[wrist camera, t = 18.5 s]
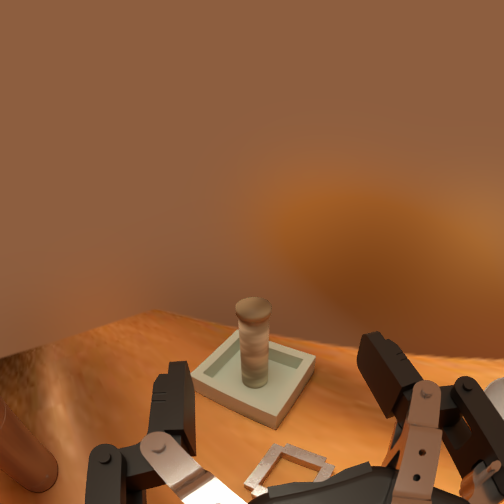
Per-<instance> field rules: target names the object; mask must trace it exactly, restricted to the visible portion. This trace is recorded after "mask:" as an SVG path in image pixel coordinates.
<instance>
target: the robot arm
mask: <svg viewBox="0 0 504 504" xmlns="http://www.w3.org/2000/svg"><path fill="white" fill-rule="evenodd" d="M357 366H358V369H359V371H360V372H361V374H362V376H363V378H364V379H365V381H366V383H367V385H368V386H369V388H370V390H371V392H372V393H373V395H374V397H375V399H376V401H377V402H378V404H379V406H380V408H381V410H382V411H383V413H384V415H385V417H386V419H388V418H390V417H393V416H395V417H396V419H397V420H396V422H395V426H394V430H393V434H392V437H391V441H390V445H389V448H388V452H387V455H386V457H385V459H384V461H383V463H382V466H370V463H369V461H368V462H365V463H362V464H360V465H357V466H353V467H350V468H347V469H345V470H343V471H341V472H339V473H338V474H336V475H334V476H332V477H330V478H328V479H327V480H325V481H322V482H293V483H288V484H282V485H277V486H271V487H267V489H268V492H267V493H264V494H262V495H260V496H258V497H256V498H254V499H253V500H251V501H250V502H249V503H248V504H500V503H502V502H503V501H504V420H503V418H502V417H501V415H500V414H499V412H498V411H497V409H496V408H495V407H494V405H493V404H492V402H491V401H490V399H489V398H488V397H487V395H486V394H485V392H484V391H483V390H482V388H481V387H480V386H479V384H478V383H477V382H476V380H474V379H473V378H471V377H468V376H462V377H460V378H458V379H457V380H456V382H455V384H454V385H450V386H441V387H439V386H438V385H437V384H436V383H434V382H432V381H429V380H423V378H422V377H421V376H420V374H419V373H418V371H417V370H416V369H415V367H414V366H413V365H412V363H411V362H410V361H409V359H407V357H406V355H405V354H404V353H403V352H402V350H401V349H400V348H399V346H398V345H397V344H395V343H394V342H393V341H391V340H389V339H387V340H385V339H384V337H383V336H382V335H381V333H380V332H378V331H376V332H372V333H368V334H363V335H362V338H361V342H360V346H359V351H358V355H357ZM152 393H153V395H152V400H151V401H152V402H151V409H150V418H149V427H148V433H147V435H146V436H145V437H144V438H143V439H142V441H141V442H139V443H138V444H136V445H133V446H129V447H125V448H120V449H117V448H116V447H115V446H113V445H110V444H101V445H98V446H96V447H95V448H94V449H93V450H92V451H91V453H90V456H89V463H88V471H87V481H86V493H85V504H147V501H146V489H149V488H153V487H157V486H161V485H165V484H167V485H168V486H169V487H170V488H171V489H172V490H173V491H174V493H175V494H176V495H177V496H178V497H179V498H180V499H181V500H182V501H183V502H184V503H185V504H247V503H246V502H244V501H243V500H242V499H241V498H239V497H238V496H237V495H236V494H235V493H233V492H232V491H231V490H230V489H229V488H227V487H226V486H225V485H224V484H223V483H222V482H221V481H219V480H218V479H217V478H216V477H215V476H214V475H213V474H211V473H210V472H209V471H206V470H204V469H203V468H202V467H201V466H200V465H199V464H198V463H197V462H196V461H195V460H194V459H193V458H192V457H191V456H196V433H195V392H194V385H193V381H192V378H191V374H190V371H189V367H188V363H187V361H177V362H170V363H169V370H168V374H159V376H158V377H157V379H156V380H155V382H154V385H153V392H152ZM462 416H464V418H465V419H466V421H467V423H468V424H469V426H470V428H471V430H472V433H471V431H470V429H469V427H468V426H467V424H466V423H465V421H464V419H463V418H462ZM441 440H443V442H444V444H445V446H446V448H447V450H448V452H449V454H450V456H451V457H452V459H453V461H454V463H455V465H456V467H457V469H458V471H459V473H460V475H461V478H462V481H461V486H460V488H461V489H460V490H459V494H460V496H462V497H459V496H456V495H453V494H451V493H448V492H445V491H443V490H440V489H438V488H435V487H433V486H434V481H435V476H436V471H437V466H438V460H439V454H440V447H441ZM0 469H1V470H3V471H4V472H5V473H6V474H8V475H9V476H10V477H11V478H13V479H14V480H15V481H16V482H18V483H19V484H20V485H22V486H23V487H25V488H26V489H27V490H30V491H32V492H42V491H45V490H47V489H49V488H50V487H51V486H52V485H53V484H54V482H55V480H56V478H57V473H58V466H57V462H56V460H55V458H54V456H53V455H52V454H51V453H50V452H49V451H48V450H47V449H46V448H45V447H44V446H43V445H42V444H41V443H40V442H39V441H38V440H37V439H36V438H35V437H34V435H33V434H32V433H31V432H30V431H29V430H28V429H27V428H26V427H25V426H24V424H23V423H22V422H21V421H20V420H19V419H18V418H17V416H16V415H15V414H14V413H13V412H12V410H11V409H10V408H9V407H8V405H7V404H6V403H5V402H4V400H3V399H2V398H1V397H0Z"/></svg>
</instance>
